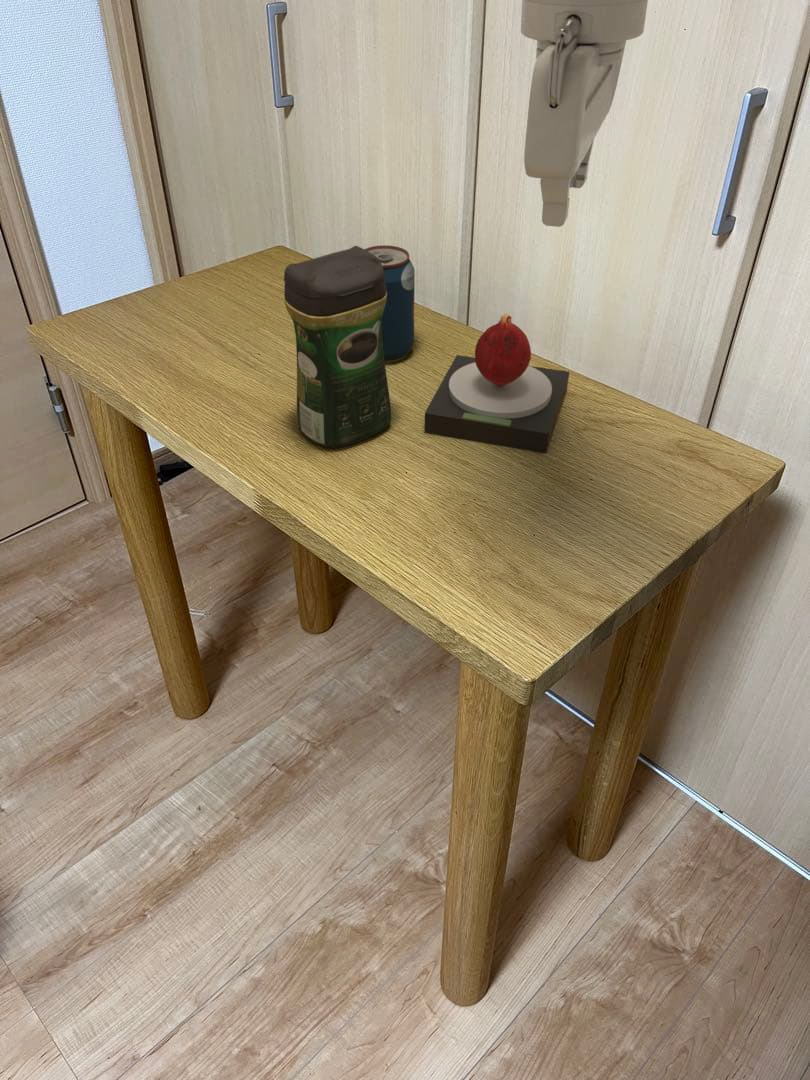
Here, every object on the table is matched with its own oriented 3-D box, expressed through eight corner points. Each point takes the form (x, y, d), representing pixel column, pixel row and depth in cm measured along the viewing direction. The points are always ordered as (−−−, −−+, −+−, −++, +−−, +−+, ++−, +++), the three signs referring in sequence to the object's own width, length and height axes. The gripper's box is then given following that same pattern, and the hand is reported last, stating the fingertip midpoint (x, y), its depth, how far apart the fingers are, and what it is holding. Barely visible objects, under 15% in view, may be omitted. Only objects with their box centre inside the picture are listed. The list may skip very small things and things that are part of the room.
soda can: (425, 351, 103) (427, 254, 95) (385, 371, 99) (384, 273, 91) (385, 332, 107) (383, 238, 99) (345, 352, 103) (340, 255, 95)
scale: (566, 390, 96) (570, 365, 94) (546, 453, 87) (549, 426, 84) (455, 373, 99) (456, 348, 97) (424, 432, 90) (424, 406, 87)
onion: (529, 400, 88) (537, 329, 83) (474, 399, 88) (478, 329, 83) (524, 372, 93) (531, 303, 87) (472, 371, 93) (476, 303, 88)
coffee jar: (361, 396, 95) (354, 232, 83) (402, 428, 90) (401, 258, 78) (285, 424, 91) (266, 255, 79) (324, 459, 86) (311, 284, 74)
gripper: (608, 33, 52) (583, 254, 61) (643, -14, 67) (619, 169, 76) (508, 30, 54) (498, 245, 63) (564, -15, 69) (549, 164, 78)
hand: (564, 203), depth 69 cm, fingers open, 8 cm apart
